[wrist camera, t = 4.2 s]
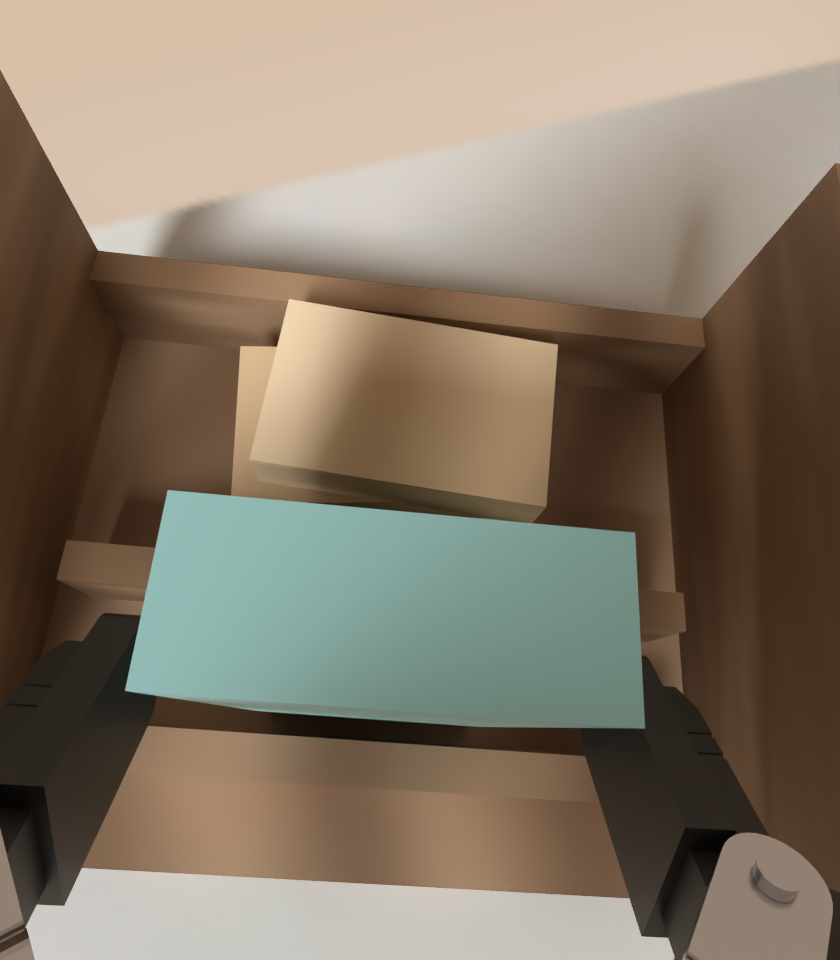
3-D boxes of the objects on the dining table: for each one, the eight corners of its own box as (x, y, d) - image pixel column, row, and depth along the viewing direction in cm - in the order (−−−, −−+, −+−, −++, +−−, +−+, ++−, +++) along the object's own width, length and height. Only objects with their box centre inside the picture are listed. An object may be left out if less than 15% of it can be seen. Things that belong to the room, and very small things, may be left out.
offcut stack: (519, 400, 22) (557, 323, 18) (516, 558, 20) (559, 514, 16) (259, 373, 22) (236, 287, 17) (231, 533, 20) (198, 481, 15)
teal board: (470, 645, 19) (635, 532, 8) (468, 726, 18) (644, 728, 7) (279, 630, 19) (167, 490, 8) (267, 712, 18) (125, 690, 7)
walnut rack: (668, 392, 24) (878, 168, 15) (706, 890, 19) (1086, 1069, 9) (115, 333, 23) (-61, 46, 13) (-23, 849, 18) (-497, 1004, 8)
